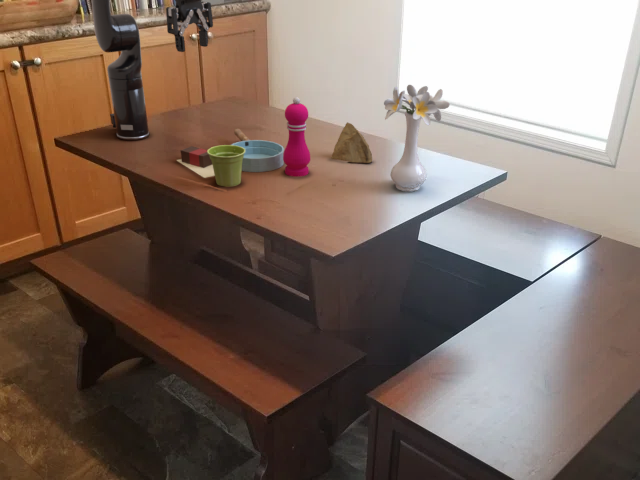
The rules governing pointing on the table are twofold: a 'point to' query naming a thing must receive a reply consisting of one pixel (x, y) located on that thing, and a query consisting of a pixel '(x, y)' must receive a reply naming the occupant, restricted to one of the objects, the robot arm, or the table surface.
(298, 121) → the pepper mill
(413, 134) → the flower vase
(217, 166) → the plant pot
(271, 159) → the pan
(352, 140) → the rock
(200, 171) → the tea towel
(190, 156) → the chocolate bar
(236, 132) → the pan handle
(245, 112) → the table surface
